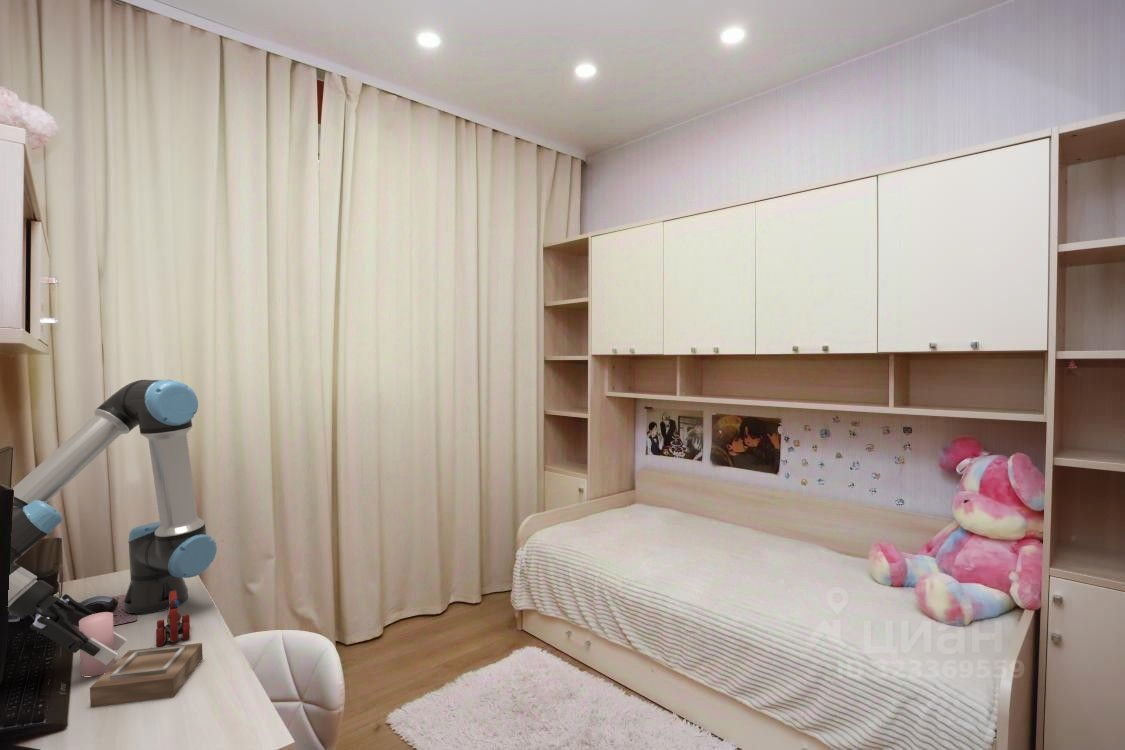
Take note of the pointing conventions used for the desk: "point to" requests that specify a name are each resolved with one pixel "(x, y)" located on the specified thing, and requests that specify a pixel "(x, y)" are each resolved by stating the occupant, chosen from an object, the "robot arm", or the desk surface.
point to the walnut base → (146, 675)
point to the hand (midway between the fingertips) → (117, 652)
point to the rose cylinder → (101, 631)
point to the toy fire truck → (173, 623)
